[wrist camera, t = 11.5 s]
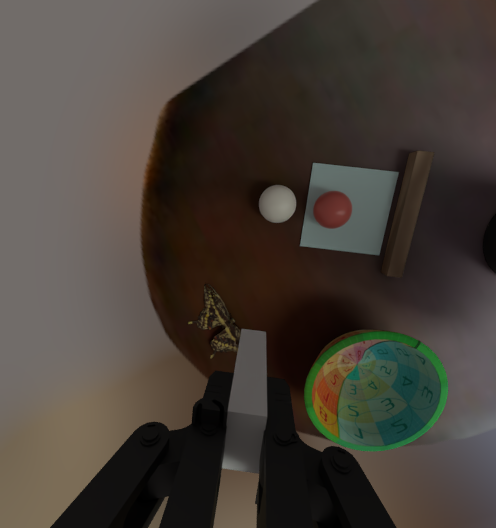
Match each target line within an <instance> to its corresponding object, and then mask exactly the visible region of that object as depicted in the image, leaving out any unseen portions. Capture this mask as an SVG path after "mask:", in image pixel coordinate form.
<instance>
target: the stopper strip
mask: <svg viewBox="0 0 496 528" xmlns="http://www.w3.org/2000/svg"><path fill="white" fill-rule="evenodd" d="M433 156H434V152H426V151H415V152H412V153H409V156H408V160H407V164H406V168H405V172H404V177H403V181H402V185H401V189H400V193H399V198H398V202H397V206H396V210H395V214H394V218H393V223H392V227H391V231H390V235H389V239H388V243H387V248H386V252H385V256H384V260H383V264H382V268H381V273H383V274H385V275H386V276H392V277H400V278H402V275H403V271H404V267H405V263H406V260H407V256H408V252H409V248H410V244H411V240H412V237H413V233H414V229H415V225H416V221H417V217H418V214H419V210H420V206H421V202H422V198H423V194H424V191H425V187H426V183H427V179H428V175H429V171H430V168H431V164H432V160H433Z"/></svg>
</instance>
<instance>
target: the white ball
mask: <svg viewBox="0 0 496 528" xmlns="http://www.w3.org/2000/svg"><path fill="white" fill-rule="evenodd" d="M259 209H260V212H261V214H262V215H263V217H264V218H265V219H267V220H268V221H270V222H273V223H281V222H284V221H286V220H288V219H289V218H290V217H291V216H292V215H293V213H294V211H295V209H296V198H295V196H294V194H293V192H292V191H291V190H290V189H289V188H287V187H285V186H282V185H274V186H271V187H269V188H267V189H266V190H265V191H264V192H263V193H262V195H261V197H260V200H259Z"/></svg>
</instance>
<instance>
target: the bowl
mask: <svg viewBox="0 0 496 528" xmlns="http://www.w3.org/2000/svg"><path fill="white" fill-rule="evenodd" d="M447 394H448V381H447V376H446V372H445V370H444V367H443V365H442V363H441V361H440V360H439V359H438V357H437V356H436V354H435V353H434V352H433V351H432V350H431V349H430V348H429V347H427V346H426V345H424V344H423V343H422V342H420V341H418V340H416V339H414V338H412V337H410V336H407V335H404V334H400V333H397V332H390V331H383V330H357V331H353V332H349V333H346V334H344V335H341V336H339V337H337V338H336V339H334V340H333V341H331V342H330V343H329V344H328V345H327V346H325V348H324V349H323V350H322V351H321V352H320V354H319V355H318V357H317V359H316V360H315V362H314V363H313V365H312V367H311V369H310V371H309V374H308V376H307V379H306V383H305V388H304V401H305V407H306V410H307V413H308V415H309V417H310V419H311V421H312V422H313V424H314V425H315V426H316V428H317V429H318V430H319V431H320V432H321V433H322V434H323V435H325V436H326V437H327V438H329V439H330V440H332V441H333V442H335V443H337V444H339V445H342V446H344V447H348V448H351V449H354V450H361V451H384V450H389V449H394V448H397V447H400V446H403V445H406V444H408V443H410V442H412V441H414V440H416V439H417V438H418V437H420V436H421V435H423V434H424V433H425V432H426V431H428V430H429V429H430V428H431V427H432V426H433V424H434V423H435V422H436V421H437V420H438V418H439V416H440V415H441V413H442V411H443V409H444V406H445V403H446V400H447Z"/></svg>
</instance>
